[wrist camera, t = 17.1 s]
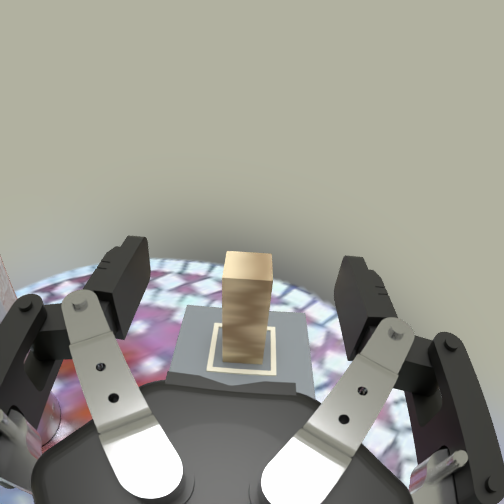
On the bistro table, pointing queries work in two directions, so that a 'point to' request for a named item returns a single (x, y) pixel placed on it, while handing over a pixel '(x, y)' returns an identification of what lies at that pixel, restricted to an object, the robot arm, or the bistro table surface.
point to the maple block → (245, 306)
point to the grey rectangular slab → (272, 369)
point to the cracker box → (6, 288)
